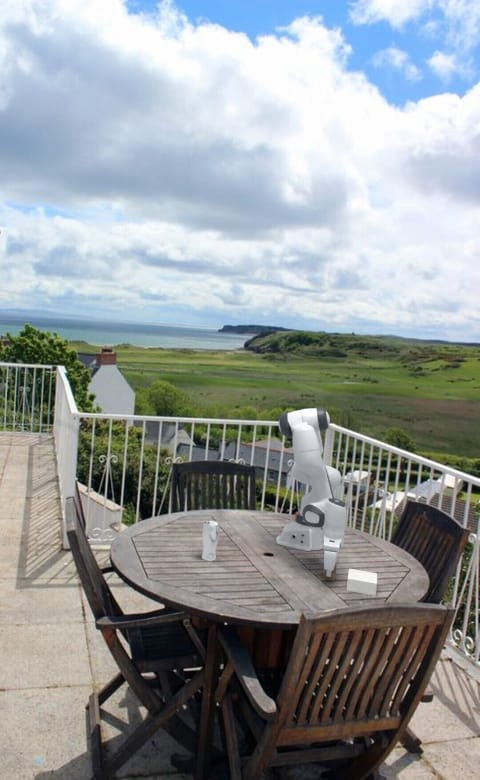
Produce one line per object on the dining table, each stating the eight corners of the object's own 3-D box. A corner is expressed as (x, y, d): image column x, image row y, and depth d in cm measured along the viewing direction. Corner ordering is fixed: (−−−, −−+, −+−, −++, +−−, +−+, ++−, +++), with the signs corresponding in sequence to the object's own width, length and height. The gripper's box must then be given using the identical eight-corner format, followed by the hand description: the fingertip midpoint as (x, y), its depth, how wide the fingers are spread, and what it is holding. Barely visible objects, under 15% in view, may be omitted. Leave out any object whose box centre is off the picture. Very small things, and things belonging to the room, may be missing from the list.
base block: (346, 591, 218) (347, 578, 217) (347, 580, 228) (349, 568, 228) (375, 596, 215) (377, 583, 215) (375, 585, 226) (377, 573, 225)
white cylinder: (219, 557, 239) (222, 523, 238) (212, 562, 233) (215, 527, 232) (205, 554, 242) (208, 519, 241) (197, 558, 236) (200, 523, 235)
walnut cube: (322, 579, 226) (323, 566, 226) (323, 574, 231) (324, 562, 231) (334, 581, 225) (335, 569, 225) (335, 576, 230) (336, 564, 230)
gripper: (326, 530, 238) (323, 562, 239) (322, 546, 218) (319, 581, 219) (341, 533, 237) (338, 565, 238) (339, 548, 217) (335, 584, 218)
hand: (329, 573), depth 228 cm, fingers closed on walnut cube, 5 cm apart
